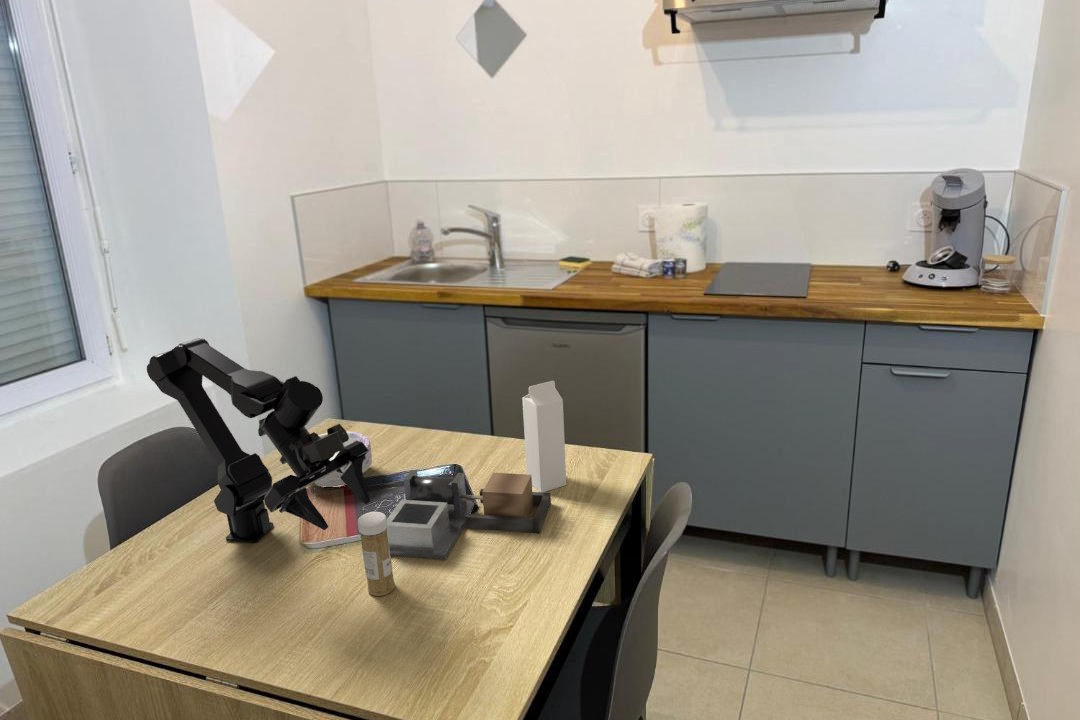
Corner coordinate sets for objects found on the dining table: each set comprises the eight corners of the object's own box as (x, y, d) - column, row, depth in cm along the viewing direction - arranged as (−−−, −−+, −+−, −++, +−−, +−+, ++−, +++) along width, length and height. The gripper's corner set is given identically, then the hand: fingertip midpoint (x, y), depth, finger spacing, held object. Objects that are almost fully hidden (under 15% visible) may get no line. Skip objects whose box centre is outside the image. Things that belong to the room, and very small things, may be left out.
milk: (566, 485, 161) (563, 384, 154) (540, 493, 158) (536, 391, 151) (551, 473, 166) (547, 375, 159) (526, 481, 163) (521, 382, 156)
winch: (370, 553, 141) (365, 517, 138) (409, 500, 158) (405, 467, 156) (472, 562, 137) (468, 524, 134) (500, 506, 154) (497, 472, 152)
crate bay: (466, 528, 147) (463, 494, 145) (482, 499, 157) (479, 467, 155) (539, 533, 144) (537, 499, 142) (550, 503, 154) (549, 471, 152)
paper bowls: (389, 470, 171) (384, 437, 168) (337, 502, 159) (332, 467, 156) (339, 456, 179) (334, 424, 176) (286, 485, 167) (280, 451, 164)
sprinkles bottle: (399, 590, 130) (390, 518, 125) (373, 600, 128) (363, 528, 123) (388, 577, 134) (379, 507, 129) (363, 587, 131) (352, 516, 127)
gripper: (263, 437, 120) (322, 519, 118) (354, 396, 134) (409, 468, 132) (240, 472, 127) (296, 551, 124) (329, 430, 141) (380, 499, 139)
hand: (348, 515), depth 130 cm, fingers open, 9 cm apart
